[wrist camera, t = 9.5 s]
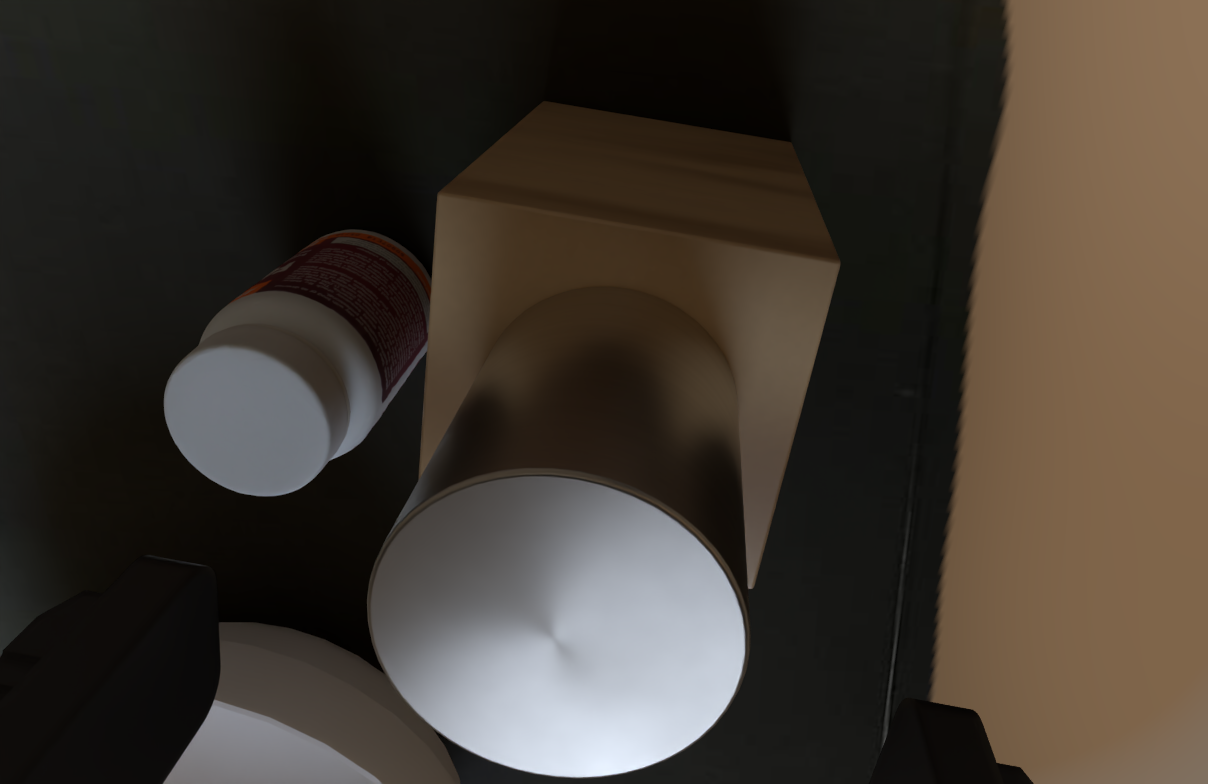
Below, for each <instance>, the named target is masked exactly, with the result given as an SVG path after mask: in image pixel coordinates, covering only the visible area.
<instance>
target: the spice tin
mask: <svg viewBox="0 0 1208 784" xmlns="http://www.w3.org/2000/svg"><path fill="white" fill-rule="evenodd" d="M367 614H368V625H369V630H370V635H371V640H372V644H373V647H374V649H375V652H376V655H377V658H378V661H379V663H380V665H381V667H382V669H383V670H384V672H385V674H386V676H387V678H388V680H389V681H390V683H391V684H392V686H393V687H394V689H395V690H396V691H397V693H398V694H399V696H400V697H401V698H402V699H403V700H404V702H405V703H406V704H407V705H408V706H409V707H410V708H411V709H412V711H413V712H414V713H415V714H416V715H418V716H419V717H420V718H421V719H422V720H423V721H424V722H425V723H426V724H428V725H429V726H430V727H431V728H432V729H434V730H435V731H436V732H438V733H439V734H441V735H442V736H443V737H445V738H446V739H448V740H449V741H451V742H452V743H454V744H456V745H458V746H459V747H461V748H463V749H465V750H466V751H468V752H470V753H472V754H475V755H477V756H479V757H481V758H483V759H486V760H488V761H490V762H493V763H496V764H499V765H502V766H505V767H508V768H511V769H514V770H519V771H523V772H527V773H531V774H536V775H543V776H550V777H559V778H598V777H607V776H614V775H620V774H625V773H629V772H633V771H637V770H641V769H645V768H647V767H650V766H652V765H655V764H658V763H660V762H663V761H665V760H667V759H669V758H671V757H673V756H675V755H677V754H679V753H680V752H682V751H684V750H685V749H687V748H688V747H690V746H691V745H693V744H694V743H695V742H697V741H698V740H700V739H701V738H702V737H703V736H704V735H705V734H706V733H707V732H708V731H709V730H711V729H712V728H713V727H714V726H715V725H716V724H717V722H718V721H719V720H720V719H721V717H722V716H723V715H724V714H725V712H726V711H727V710H728V708H729V707H730V705H731V703H732V701H733V700H734V698H735V696H736V694H737V693H738V691H739V689H740V686H741V683H742V681H743V678H744V675H745V673H746V669H747V664H748V658H749V653H750V616H749V597H748V579H747V561H746V542H745V524H744V505H743V487H742V468H741V450H740V432H739V413H738V399H737V392H736V386H735V382H734V379H733V375H732V372H731V369H730V367H729V365H728V363H727V360H726V358H725V356H724V354H723V353H722V351H721V350H720V348H719V347H718V345H717V343H716V342H715V341H714V339H713V338H712V337H711V336H710V335H709V334H708V332H707V331H706V330H705V329H704V328H703V327H702V326H701V325H700V324H699V323H698V322H696V321H695V320H694V319H693V318H692V317H691V316H689V315H688V314H686V313H685V312H684V311H682V310H681V309H679V308H678V307H676V306H674V305H672V304H670V303H668V302H667V301H665V300H663V299H660V298H658V297H655V296H652V295H650V294H647V293H644V292H640V291H636V290H632V289H627V288H618V287H587V288H580V289H574V290H570V291H566V292H563V293H559V294H556V295H554V296H552V297H549V298H547V299H545V300H542V301H540V302H539V303H537V304H535V305H534V306H532V307H530V308H529V309H527V310H526V311H525V312H523V313H522V314H521V315H520V316H518V317H517V318H516V319H515V320H514V321H513V322H512V323H511V324H510V325H509V326H508V327H507V328H506V329H505V330H504V332H503V333H502V335H501V336H500V337H499V339H498V340H497V342H496V343H495V345H494V347H493V348H492V350H491V352H490V354H489V356H488V357H487V359H486V361H485V363H484V364H483V366H482V368H481V370H480V372H479V373H478V375H477V377H476V379H475V381H474V382H473V384H472V386H471V388H470V390H469V391H468V393H467V395H466V397H465V398H464V400H463V402H462V404H461V406H460V407H459V409H458V411H457V413H456V415H455V416H454V418H453V420H452V422H451V424H450V425H449V427H448V429H447V431H446V433H445V434H444V436H443V438H442V440H441V441H440V443H439V445H438V447H437V449H436V450H435V452H434V454H433V456H432V458H431V459H430V461H429V463H428V465H427V467H426V468H425V470H424V472H423V474H422V475H421V477H420V479H419V481H418V483H417V484H416V486H415V488H414V490H413V492H412V493H411V495H410V497H409V499H408V501H407V502H406V504H405V506H404V508H403V509H402V511H401V513H400V515H399V517H398V518H397V520H396V522H395V524H394V526H393V527H392V529H391V531H390V533H389V535H388V536H387V538H386V540H385V542H384V544H383V546H382V548H381V550H380V552H379V554H378V556H377V558H376V560H375V563H374V566H373V569H372V573H371V576H370V580H369V587H368V595H367Z"/></svg>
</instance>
